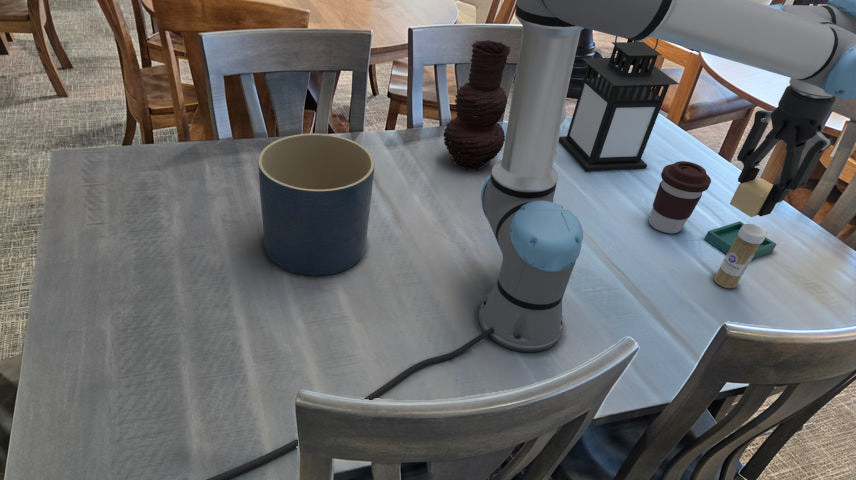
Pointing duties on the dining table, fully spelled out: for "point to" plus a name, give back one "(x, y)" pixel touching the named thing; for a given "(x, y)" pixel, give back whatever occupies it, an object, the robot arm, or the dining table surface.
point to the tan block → (751, 196)
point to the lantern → (617, 109)
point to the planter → (315, 202)
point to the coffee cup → (678, 195)
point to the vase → (479, 109)
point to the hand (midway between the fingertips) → (751, 206)
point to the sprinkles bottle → (740, 255)
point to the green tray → (727, 236)
